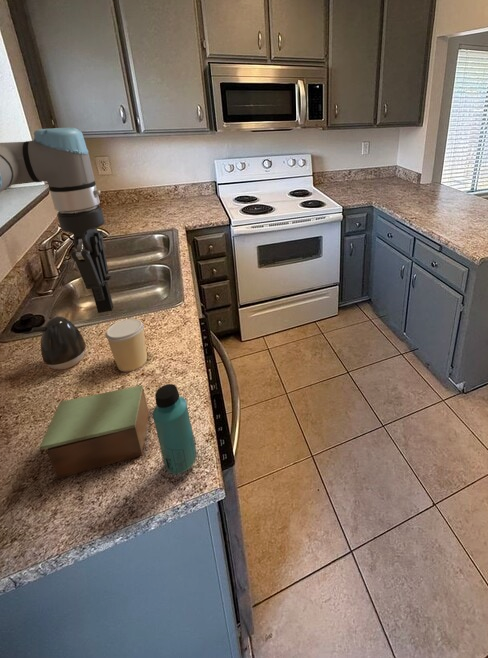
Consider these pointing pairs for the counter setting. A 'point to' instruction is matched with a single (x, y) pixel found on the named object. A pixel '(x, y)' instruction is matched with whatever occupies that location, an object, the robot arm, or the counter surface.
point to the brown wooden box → (101, 448)
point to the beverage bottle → (174, 430)
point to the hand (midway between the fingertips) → (106, 310)
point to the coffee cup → (127, 344)
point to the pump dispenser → (61, 343)
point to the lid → (93, 416)
